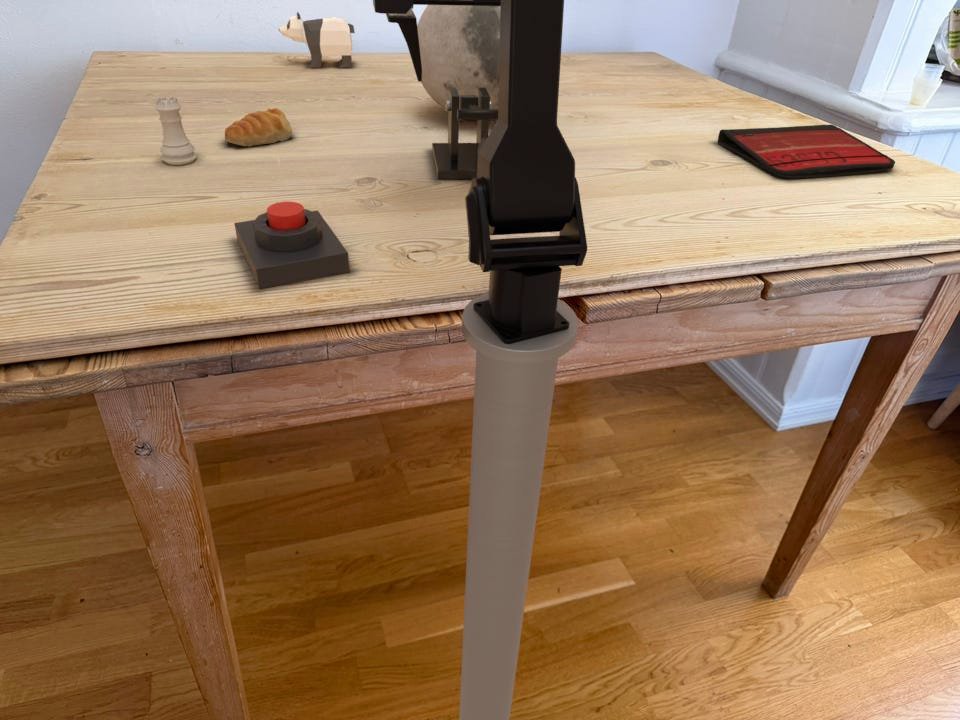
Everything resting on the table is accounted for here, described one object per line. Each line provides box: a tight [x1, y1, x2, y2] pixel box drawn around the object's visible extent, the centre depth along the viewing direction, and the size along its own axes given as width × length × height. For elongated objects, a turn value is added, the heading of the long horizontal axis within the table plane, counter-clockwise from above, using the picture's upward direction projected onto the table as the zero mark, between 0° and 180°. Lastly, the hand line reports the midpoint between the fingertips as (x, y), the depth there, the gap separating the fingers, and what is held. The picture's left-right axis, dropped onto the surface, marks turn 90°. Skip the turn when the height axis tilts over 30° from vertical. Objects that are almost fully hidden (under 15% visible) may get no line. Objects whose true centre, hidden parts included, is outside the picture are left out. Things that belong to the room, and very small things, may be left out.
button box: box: [233, 208, 351, 290], centre depth 70 cm, size 11×9×4 cm
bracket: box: [431, 87, 492, 180], centre depth 92 cm, size 11×9×10 cm
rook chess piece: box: [154, 95, 197, 166], centre depth 89 cm, size 4×4×8 cm
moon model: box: [417, 5, 501, 111], centre depth 107 cm, size 20×20×20 cm
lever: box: [457, 95, 498, 121], centre depth 86 cm, size 12×5×2 cm, turn 7°
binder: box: [717, 124, 896, 179], centre depth 103 cm, size 16×2×21 cm
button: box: [266, 201, 306, 230], centre depth 68 cm, size 4×4×2 cm
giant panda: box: [278, 11, 356, 69], centre depth 134 cm, size 15×6×10 cm, turn 100°
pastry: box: [224, 107, 293, 148], centre depth 98 cm, size 9×7×4 cm
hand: (459, 80), depth 77 cm, fingers open, 9 cm apart
